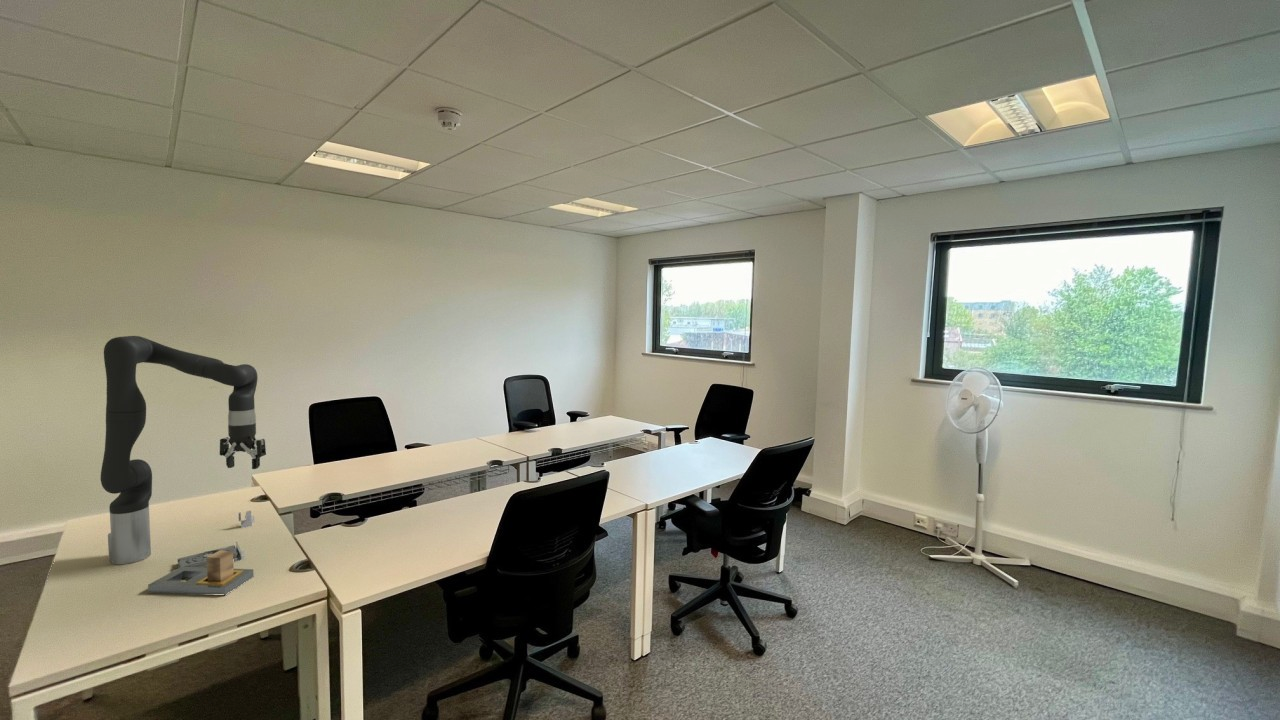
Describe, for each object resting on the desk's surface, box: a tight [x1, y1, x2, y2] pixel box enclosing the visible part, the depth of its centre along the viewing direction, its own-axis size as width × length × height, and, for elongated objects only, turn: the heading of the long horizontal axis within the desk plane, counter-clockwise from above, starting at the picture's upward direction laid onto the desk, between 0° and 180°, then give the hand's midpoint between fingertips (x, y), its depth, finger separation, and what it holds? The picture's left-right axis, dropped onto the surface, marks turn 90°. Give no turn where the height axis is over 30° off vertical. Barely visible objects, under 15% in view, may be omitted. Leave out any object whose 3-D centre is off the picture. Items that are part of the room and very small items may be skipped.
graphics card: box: [177, 540, 246, 568], centre depth 170 cm, size 17×4×12 cm
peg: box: [206, 550, 235, 582], centre depth 155 cm, size 4×4×10 cm
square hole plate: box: [147, 567, 255, 596], centre depth 155 cm, size 23×11×3 cm, turn 90°
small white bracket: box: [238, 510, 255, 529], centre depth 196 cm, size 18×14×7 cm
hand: (243, 468), depth 174 cm, fingers open, 8 cm apart
